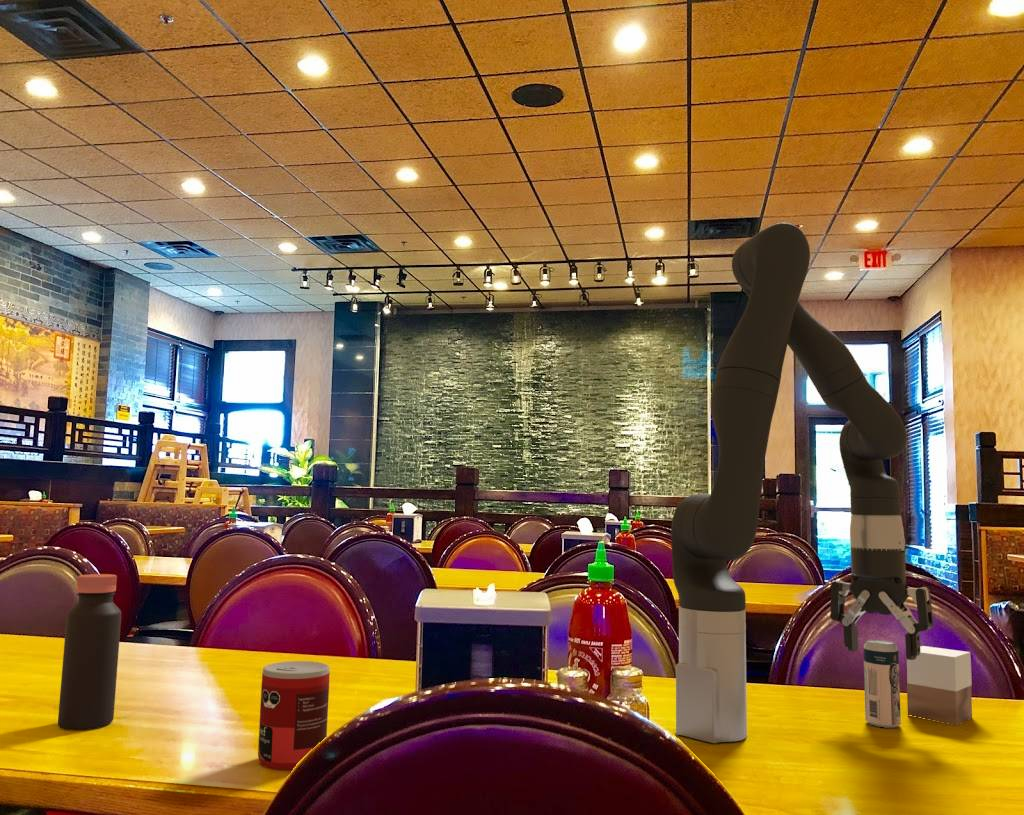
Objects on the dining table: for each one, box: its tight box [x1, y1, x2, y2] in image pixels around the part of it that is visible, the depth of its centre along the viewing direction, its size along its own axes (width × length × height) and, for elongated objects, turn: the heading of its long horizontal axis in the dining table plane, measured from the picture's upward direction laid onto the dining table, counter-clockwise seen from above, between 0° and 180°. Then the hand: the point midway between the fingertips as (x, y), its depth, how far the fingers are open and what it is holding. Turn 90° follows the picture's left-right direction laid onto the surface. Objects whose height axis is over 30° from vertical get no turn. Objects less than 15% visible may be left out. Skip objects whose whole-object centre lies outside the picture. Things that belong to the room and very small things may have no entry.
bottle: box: [57, 573, 122, 731], centre depth 113 cm, size 7×7×20 cm
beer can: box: [863, 639, 902, 729], centre depth 122 cm, size 5×5×12 cm
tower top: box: [906, 645, 973, 691], centre depth 128 cm, size 7×7×5 cm
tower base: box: [906, 683, 973, 726], centre depth 127 cm, size 7×7×5 cm
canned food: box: [257, 660, 331, 771], centre depth 99 cm, size 8×8×11 cm
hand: (881, 654), depth 123 cm, fingers open, 8 cm apart
